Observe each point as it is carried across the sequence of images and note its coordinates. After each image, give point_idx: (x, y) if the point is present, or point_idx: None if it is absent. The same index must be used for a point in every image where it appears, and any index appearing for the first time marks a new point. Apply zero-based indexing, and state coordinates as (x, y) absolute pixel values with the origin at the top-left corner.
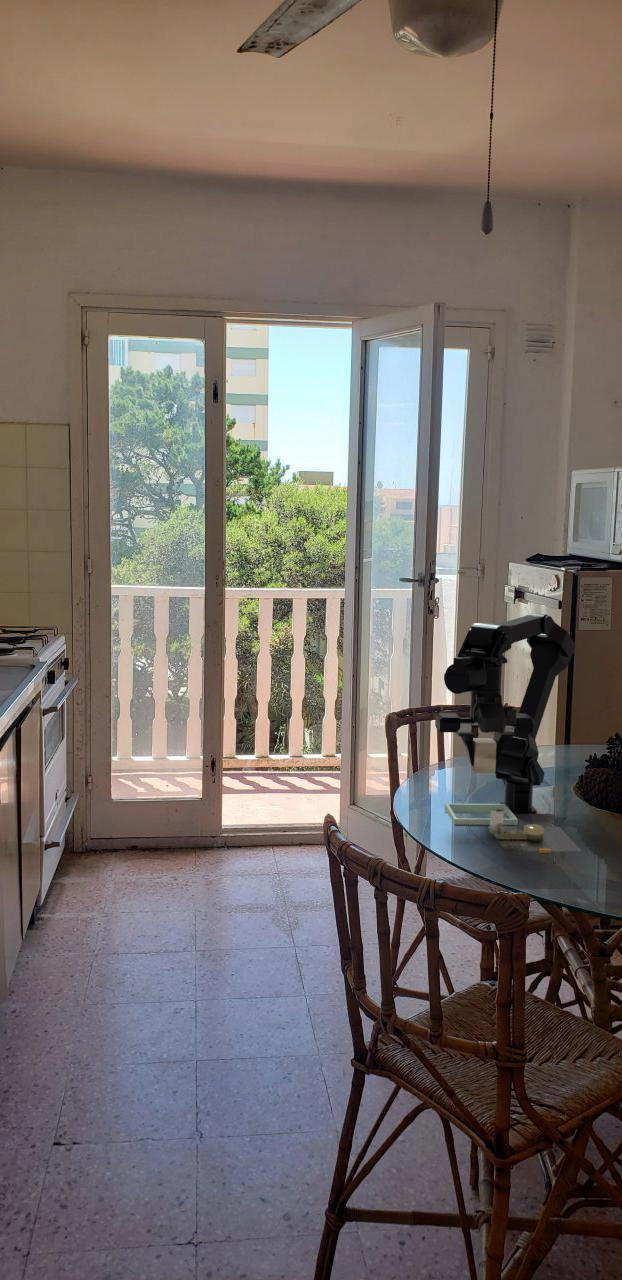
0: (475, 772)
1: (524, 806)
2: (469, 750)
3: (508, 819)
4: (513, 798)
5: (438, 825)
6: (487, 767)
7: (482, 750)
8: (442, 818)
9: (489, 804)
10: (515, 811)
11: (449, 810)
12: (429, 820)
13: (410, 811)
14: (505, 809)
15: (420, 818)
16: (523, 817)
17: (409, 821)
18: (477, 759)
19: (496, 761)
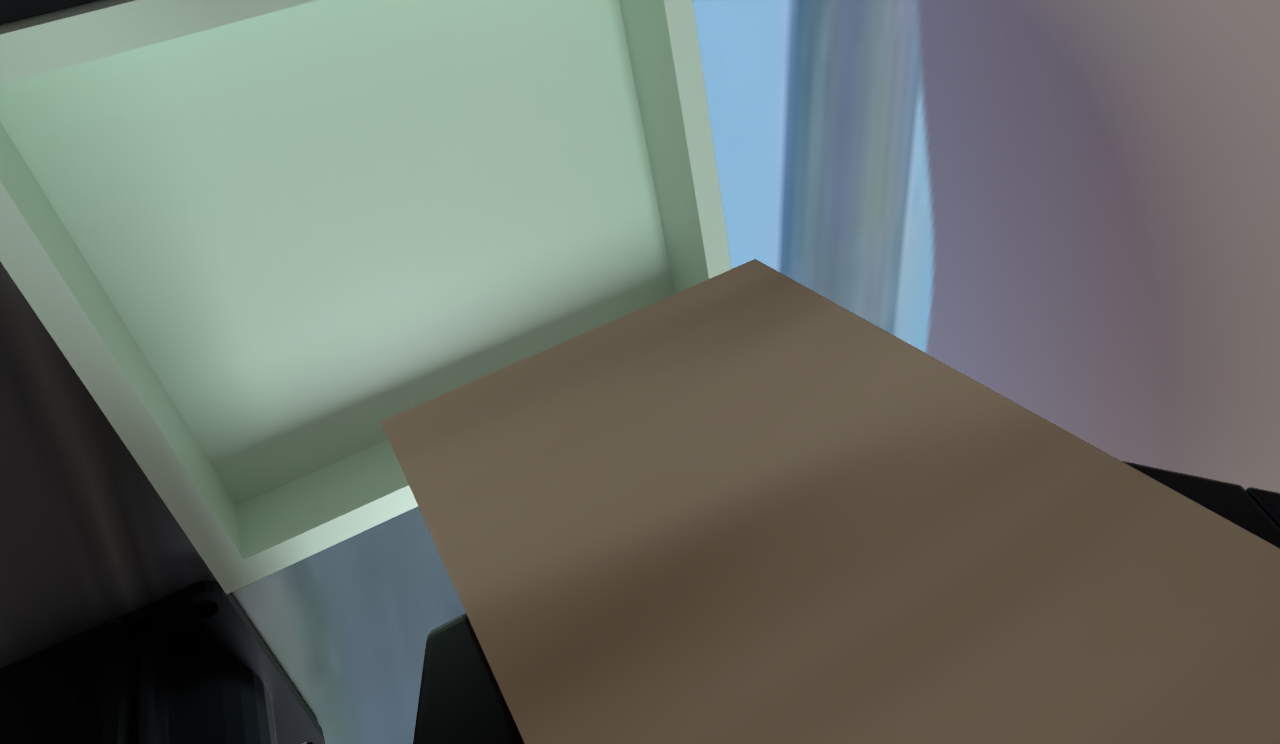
0: (753, 263)
1: (22, 691)
2: (1230, 500)
3: (22, 31)
4: (161, 724)
5: (735, 43)
6: (589, 403)
7: (1019, 594)
8: None
9: (379, 505)
10: (128, 626)
11: (714, 171)
12: (791, 157)
13: (888, 312)
14: (191, 471)
15: (844, 183)
16: (19, 570)
17: (915, 82)
18: (914, 388)
19: (436, 701)
